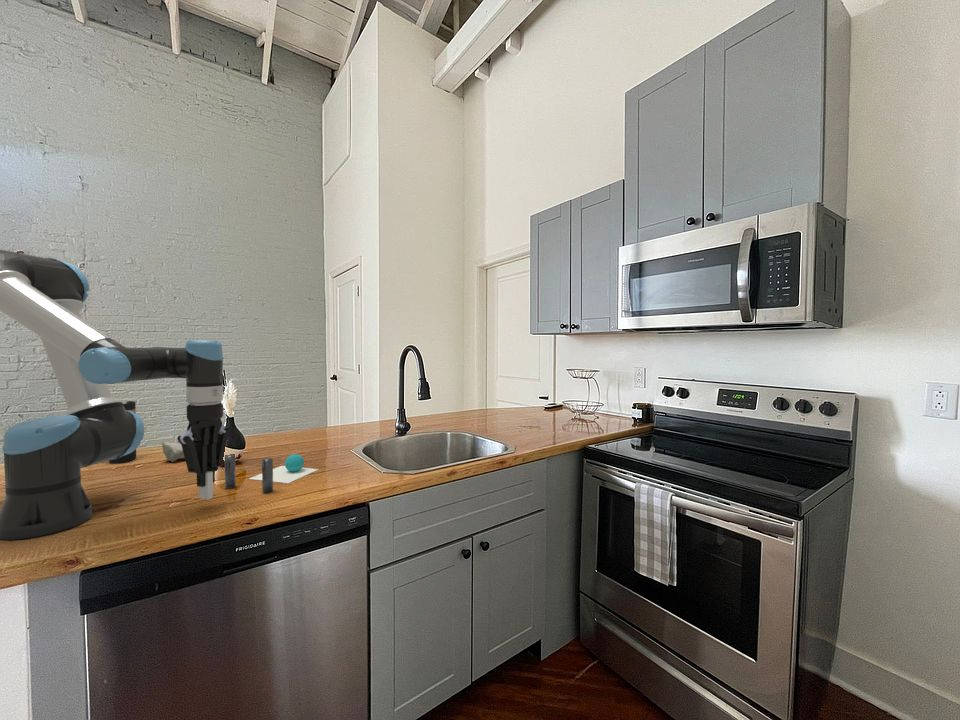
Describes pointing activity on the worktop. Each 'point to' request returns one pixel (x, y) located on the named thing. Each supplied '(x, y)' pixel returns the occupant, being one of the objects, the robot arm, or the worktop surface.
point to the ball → (294, 463)
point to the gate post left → (230, 471)
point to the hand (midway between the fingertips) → (206, 497)
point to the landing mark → (286, 475)
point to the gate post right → (267, 475)
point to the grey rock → (173, 451)
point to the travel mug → (132, 456)
